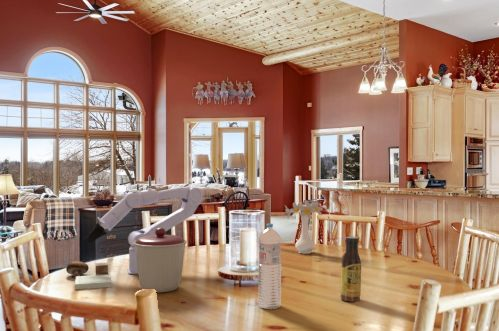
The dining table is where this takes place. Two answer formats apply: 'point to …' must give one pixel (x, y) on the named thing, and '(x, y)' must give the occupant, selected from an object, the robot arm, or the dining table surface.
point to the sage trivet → (92, 281)
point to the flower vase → (304, 224)
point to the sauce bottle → (351, 271)
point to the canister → (160, 260)
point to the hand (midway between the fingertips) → (87, 241)
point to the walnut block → (101, 268)
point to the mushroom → (77, 268)
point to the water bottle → (269, 269)
